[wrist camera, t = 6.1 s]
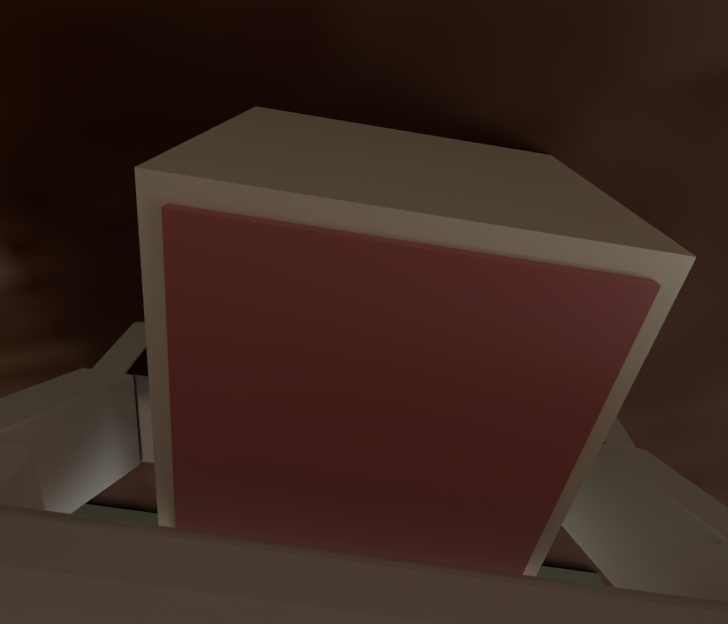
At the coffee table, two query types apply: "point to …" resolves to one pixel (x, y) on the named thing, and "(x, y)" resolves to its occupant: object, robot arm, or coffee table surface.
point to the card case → (386, 336)
